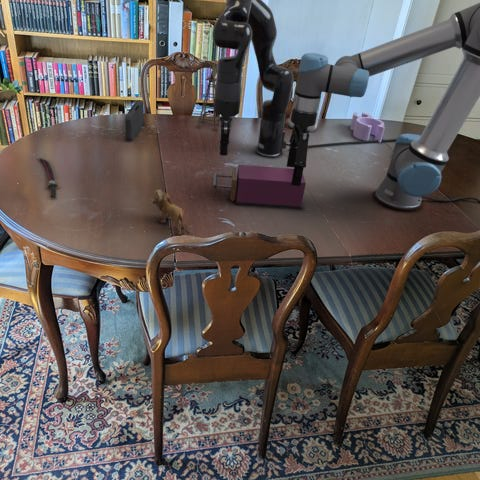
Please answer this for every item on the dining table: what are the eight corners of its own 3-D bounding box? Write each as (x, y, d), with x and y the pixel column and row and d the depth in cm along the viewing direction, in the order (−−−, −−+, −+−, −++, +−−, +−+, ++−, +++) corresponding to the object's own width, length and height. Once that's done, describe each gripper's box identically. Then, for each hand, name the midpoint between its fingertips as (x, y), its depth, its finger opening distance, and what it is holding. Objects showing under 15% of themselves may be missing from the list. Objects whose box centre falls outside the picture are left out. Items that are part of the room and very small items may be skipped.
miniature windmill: (215, 130, 202) (220, 57, 186) (196, 127, 203) (199, 55, 187) (220, 124, 209) (225, 53, 193) (202, 121, 210) (205, 51, 194)
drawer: (211, 199, 147) (213, 178, 143) (212, 186, 155) (213, 166, 151) (291, 204, 149) (295, 184, 145) (288, 191, 157) (291, 172, 153)
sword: (61, 197, 141) (61, 193, 140) (50, 198, 139) (50, 194, 139) (49, 160, 164) (48, 156, 163) (39, 160, 163) (39, 157, 162)
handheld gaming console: (137, 122, 202) (137, 99, 196) (144, 122, 202) (143, 99, 196) (124, 141, 182) (123, 116, 177) (131, 141, 182) (131, 116, 177)
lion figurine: (148, 218, 136) (147, 190, 131) (161, 212, 139) (161, 185, 134) (183, 238, 128) (184, 210, 123) (197, 232, 132) (198, 204, 127)
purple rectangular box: (236, 204, 148) (238, 178, 143) (235, 189, 156) (238, 164, 151) (301, 209, 149) (305, 183, 144) (297, 194, 158) (301, 169, 153)
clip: (343, 126, 223) (346, 112, 219) (367, 127, 225) (371, 113, 221) (360, 142, 206) (364, 127, 202) (386, 142, 209) (390, 127, 205)
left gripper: (215, 88, 140) (211, 142, 149) (214, 102, 128) (210, 160, 137) (240, 90, 140) (235, 144, 150) (241, 104, 129) (235, 162, 138)
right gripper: (287, 96, 147) (277, 158, 159) (297, 122, 126) (285, 192, 138) (311, 98, 148) (299, 160, 159) (324, 125, 127) (310, 194, 138)
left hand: (223, 152), depth 144 cm, fingers open, 3 cm apart
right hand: (293, 175), depth 148 cm, fingers open, 13 cm apart
